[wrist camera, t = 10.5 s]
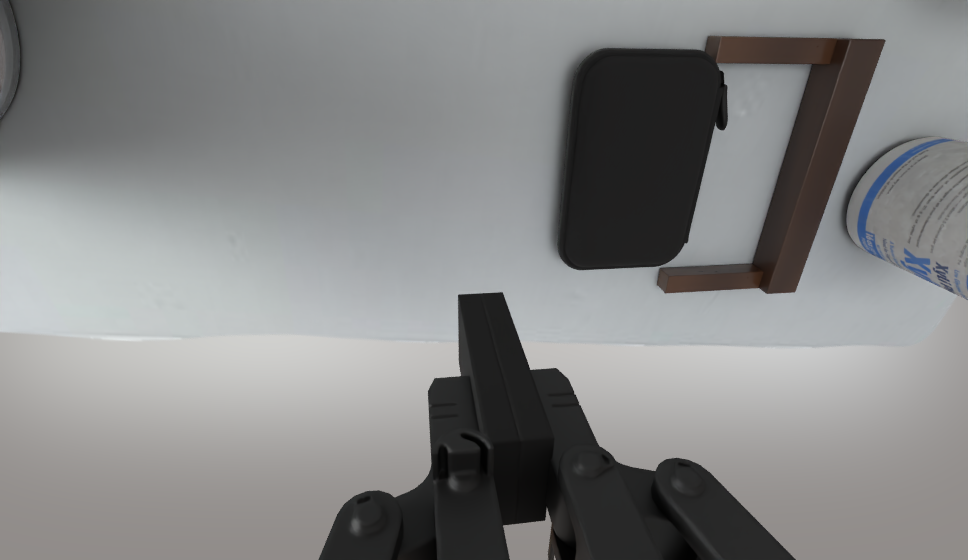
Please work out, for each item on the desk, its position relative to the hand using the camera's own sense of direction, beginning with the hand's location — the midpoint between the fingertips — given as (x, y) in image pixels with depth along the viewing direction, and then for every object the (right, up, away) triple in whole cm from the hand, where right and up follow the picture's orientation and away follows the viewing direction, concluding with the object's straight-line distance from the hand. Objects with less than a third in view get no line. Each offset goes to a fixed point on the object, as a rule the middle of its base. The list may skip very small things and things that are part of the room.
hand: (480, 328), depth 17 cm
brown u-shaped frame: (+19, +10, +19) cm, 29 cm away
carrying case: (+11, +10, +18) cm, 23 cm away
